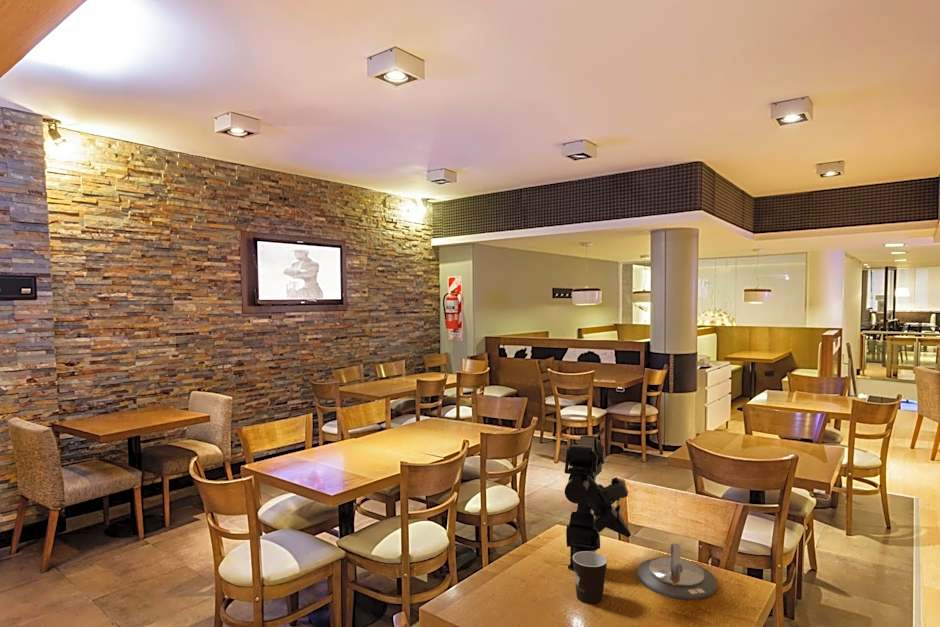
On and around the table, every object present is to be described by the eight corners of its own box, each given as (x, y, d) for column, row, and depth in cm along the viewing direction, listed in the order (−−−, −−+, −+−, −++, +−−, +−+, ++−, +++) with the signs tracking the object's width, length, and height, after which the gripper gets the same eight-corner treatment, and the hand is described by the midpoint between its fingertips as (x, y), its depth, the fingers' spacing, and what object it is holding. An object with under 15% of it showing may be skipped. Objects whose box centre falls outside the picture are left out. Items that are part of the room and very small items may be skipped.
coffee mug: (607, 608, 137) (607, 568, 137) (571, 604, 139) (572, 564, 139) (605, 585, 149) (606, 547, 149) (572, 581, 151) (573, 544, 150)
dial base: (628, 585, 149) (628, 579, 149) (649, 556, 165) (649, 551, 165) (708, 608, 138) (708, 601, 138) (722, 575, 154) (722, 568, 154)
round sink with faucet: (651, 558, 161) (651, 523, 160) (704, 567, 155) (704, 531, 155) (646, 584, 146) (646, 545, 146) (704, 595, 140) (704, 555, 140)
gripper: (607, 480, 142) (652, 529, 138) (612, 462, 160) (652, 506, 156) (575, 507, 144) (619, 557, 141) (584, 487, 162) (623, 530, 158)
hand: (629, 535), depth 149 cm, fingers closed
